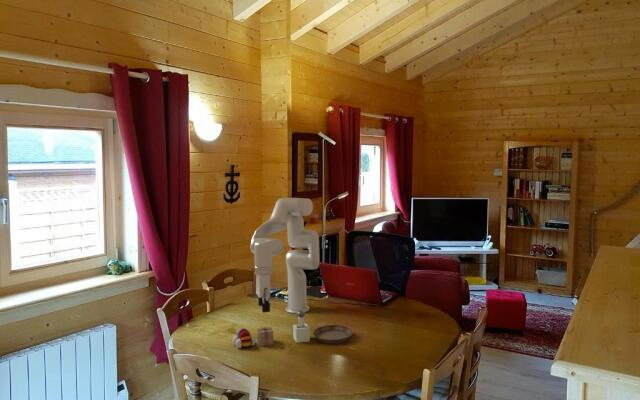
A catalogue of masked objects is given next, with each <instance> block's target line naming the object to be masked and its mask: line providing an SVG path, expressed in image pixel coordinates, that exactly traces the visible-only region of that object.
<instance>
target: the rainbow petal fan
mask: <svg viewBox="0 0 640 400" xmlns="http://www.w3.org/2000/svg"><path fill="white" fill-rule="evenodd" d="M232 344H233V345H235V346H236V348H238V349H241V348H242V347H250V346H251V347H253V346H255V345H256V338H255V337H254V336H252V334H251V332H250V331H249V330H248V329H247V328H245V327H244V328H241V329H239V330H238V331H237V333H236V335H235V336H232Z"/></svg>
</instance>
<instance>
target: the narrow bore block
mask: <svg viewBox="0 0 640 400" xmlns="http://www.w3.org/2000/svg"><path fill="white" fill-rule="evenodd" d="M256 331H257V332H256V335H257V337H256V338H257V343H258V345H260V346H259V347H264V346H265V345H266V346H272V344H273V345H274V330H273V328H272V326H262V327H257V329H256Z"/></svg>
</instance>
